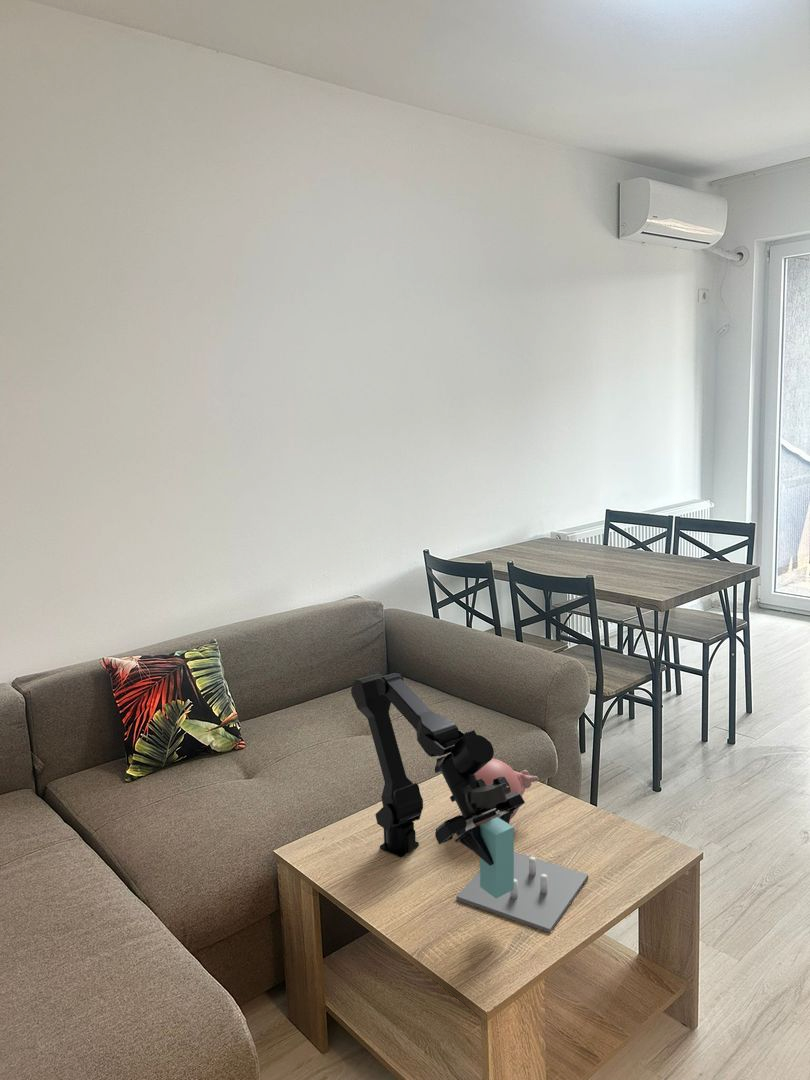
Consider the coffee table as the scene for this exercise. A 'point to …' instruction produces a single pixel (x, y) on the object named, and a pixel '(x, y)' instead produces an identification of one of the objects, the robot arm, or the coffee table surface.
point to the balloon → (514, 779)
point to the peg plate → (530, 893)
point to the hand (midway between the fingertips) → (501, 860)
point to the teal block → (498, 857)
